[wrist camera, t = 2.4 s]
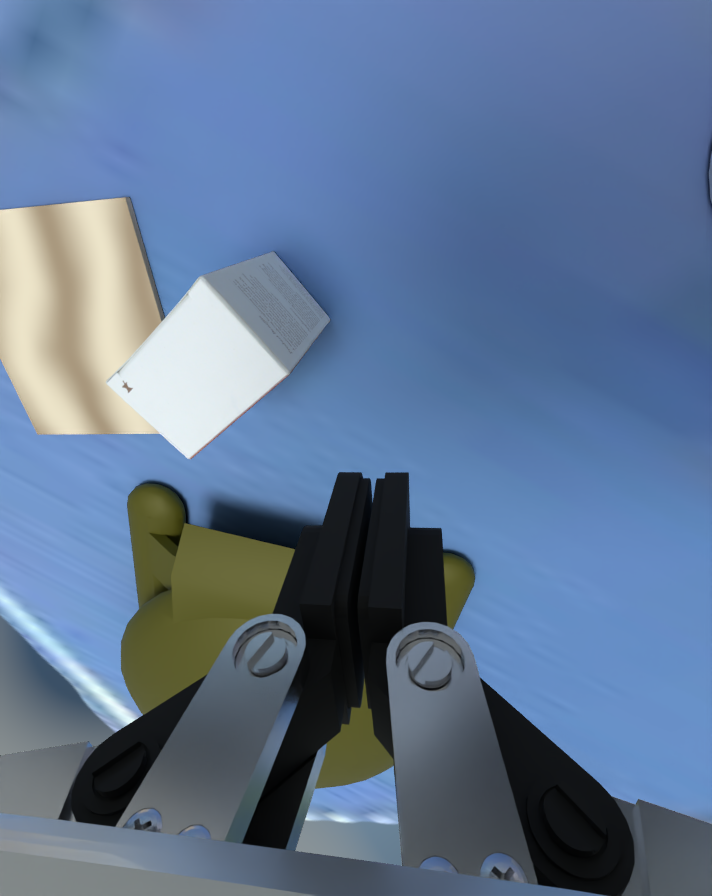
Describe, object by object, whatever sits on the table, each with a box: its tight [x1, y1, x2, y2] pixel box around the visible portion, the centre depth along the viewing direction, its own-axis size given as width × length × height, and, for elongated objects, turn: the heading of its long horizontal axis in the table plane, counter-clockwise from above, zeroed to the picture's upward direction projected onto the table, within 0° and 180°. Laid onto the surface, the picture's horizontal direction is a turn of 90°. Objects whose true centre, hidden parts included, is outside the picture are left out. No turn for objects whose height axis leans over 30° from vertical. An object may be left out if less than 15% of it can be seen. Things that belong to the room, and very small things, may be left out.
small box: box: [106, 252, 330, 459], centre depth 25 cm, size 8×6×10 cm
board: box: [0, 197, 165, 434], centre depth 32 cm, size 14×16×1 cm
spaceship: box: [121, 483, 475, 789], centre depth 43 cm, size 35×31×10 cm
